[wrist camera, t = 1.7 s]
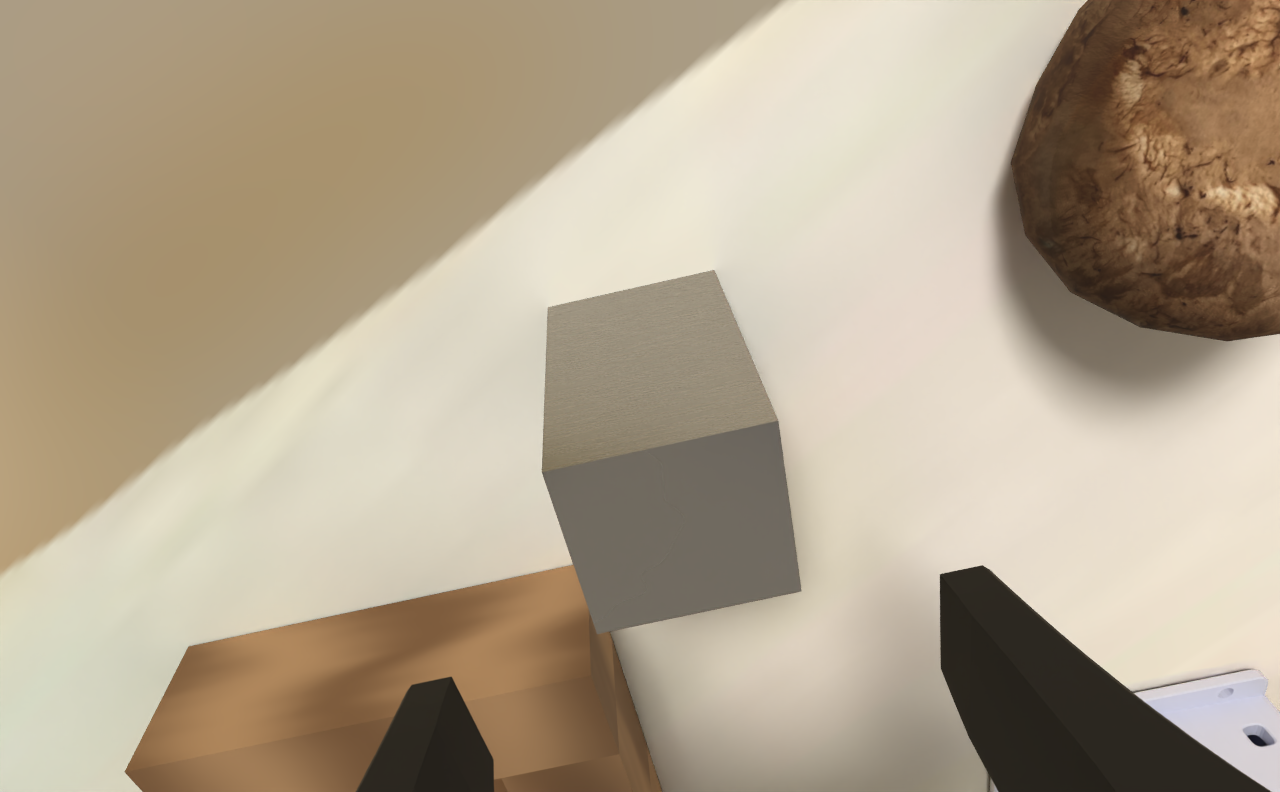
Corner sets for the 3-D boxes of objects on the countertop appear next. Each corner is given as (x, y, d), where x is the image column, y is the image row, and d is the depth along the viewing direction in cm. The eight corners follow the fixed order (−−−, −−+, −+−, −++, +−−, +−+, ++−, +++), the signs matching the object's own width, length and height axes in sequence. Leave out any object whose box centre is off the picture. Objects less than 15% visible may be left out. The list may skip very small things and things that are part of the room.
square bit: (713, 269, 19) (778, 420, 13) (737, 409, 21) (801, 591, 15) (547, 307, 19) (542, 471, 13) (588, 443, 21) (597, 634, 15)
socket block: (586, 562, 23) (591, 675, 20) (664, 797, 29) (677, 914, 26) (188, 646, 23) (124, 771, 20) (349, 861, 30) (321, 984, 26)
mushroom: (1549, 192, 16) (1734, 236, 11) (1116, 351, 21) (1103, 433, 16) (1371, -174, 16) (1473, -304, 11) (974, 73, 20) (915, 64, 15)
